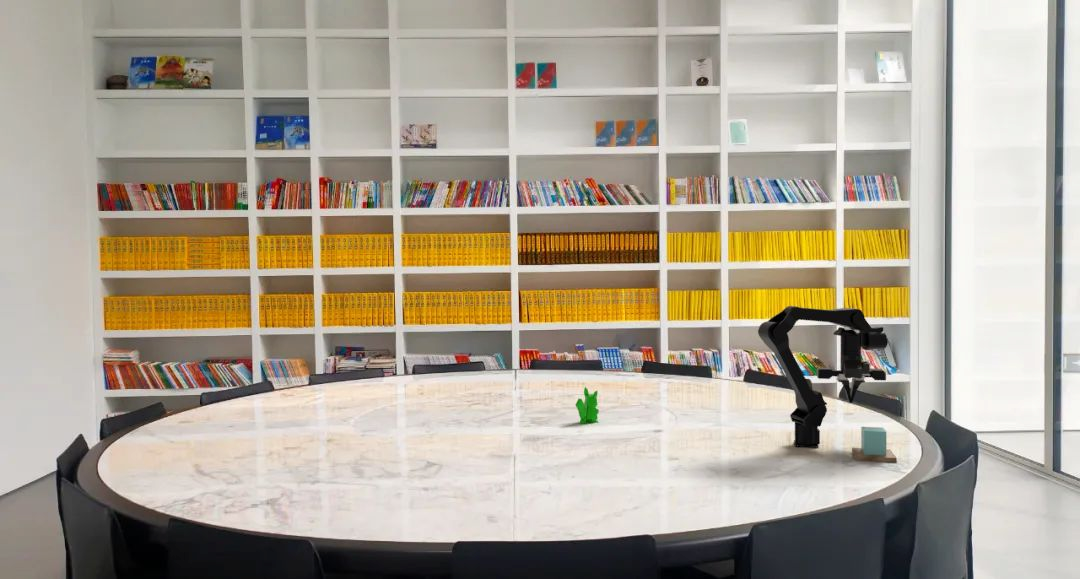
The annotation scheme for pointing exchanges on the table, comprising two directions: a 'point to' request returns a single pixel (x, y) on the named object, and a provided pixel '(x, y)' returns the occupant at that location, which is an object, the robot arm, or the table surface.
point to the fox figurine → (588, 408)
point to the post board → (874, 456)
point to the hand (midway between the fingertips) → (850, 402)
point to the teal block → (873, 441)
